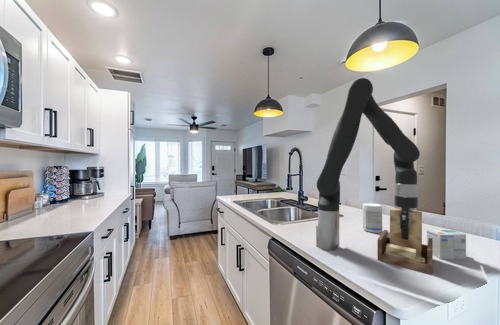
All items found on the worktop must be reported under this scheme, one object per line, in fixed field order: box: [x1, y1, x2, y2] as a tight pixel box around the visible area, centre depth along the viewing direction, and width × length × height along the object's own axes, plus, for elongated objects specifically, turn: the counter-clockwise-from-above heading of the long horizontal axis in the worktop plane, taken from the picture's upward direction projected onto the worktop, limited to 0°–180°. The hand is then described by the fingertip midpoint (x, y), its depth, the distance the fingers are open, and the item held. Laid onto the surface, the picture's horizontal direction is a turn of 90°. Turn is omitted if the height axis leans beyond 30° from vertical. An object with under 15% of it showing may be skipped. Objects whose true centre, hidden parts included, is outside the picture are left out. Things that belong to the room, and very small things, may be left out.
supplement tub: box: [362, 202, 383, 234], centre depth 119 cm, size 10×10×15 cm
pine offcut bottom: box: [384, 250, 425, 264], centre depth 79 cm, size 12×4×3 cm, turn 49°
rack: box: [376, 229, 434, 275], centre depth 82 cm, size 16×15×9 cm
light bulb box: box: [426, 228, 467, 260], centre depth 85 cm, size 11×7×11 cm, turn 92°
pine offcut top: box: [386, 243, 416, 260], centre depth 80 cm, size 9×4×2 cm, turn 49°
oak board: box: [389, 207, 423, 257], centre depth 85 cm, size 10×4×18 cm, turn 49°
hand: (405, 237), depth 85 cm, fingers closed on oak board, 4 cm apart
